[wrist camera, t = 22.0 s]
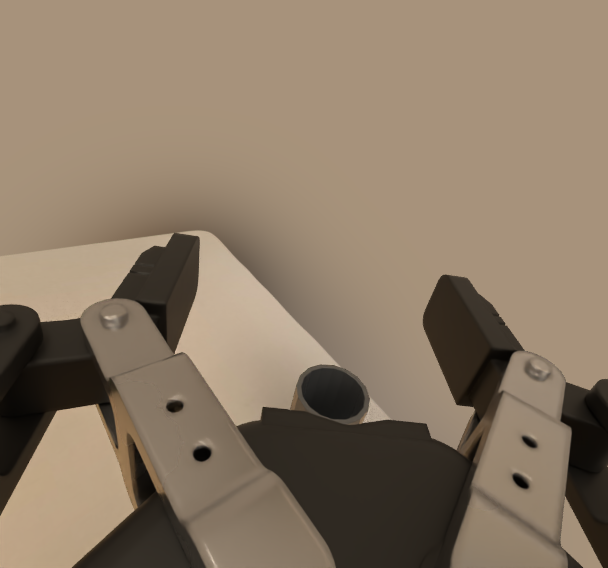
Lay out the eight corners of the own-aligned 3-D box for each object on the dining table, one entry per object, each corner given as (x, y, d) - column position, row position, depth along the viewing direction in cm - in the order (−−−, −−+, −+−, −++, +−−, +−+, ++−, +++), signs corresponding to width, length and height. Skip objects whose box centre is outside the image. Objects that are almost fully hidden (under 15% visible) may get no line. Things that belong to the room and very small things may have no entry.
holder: (359, 461, 43) (384, 409, 38) (303, 488, 39) (322, 434, 34) (324, 409, 48) (342, 357, 43) (271, 429, 44) (284, 375, 39)
